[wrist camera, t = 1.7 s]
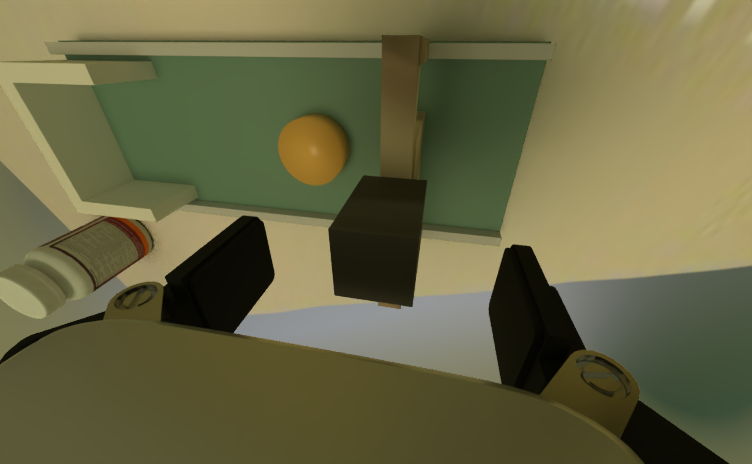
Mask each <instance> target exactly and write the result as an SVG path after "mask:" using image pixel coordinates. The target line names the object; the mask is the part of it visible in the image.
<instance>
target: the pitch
mask: <svg viewBox="0 0 752 464" xmlns="http://www.w3.org/2000/svg"><path fill="white" fill-rule="evenodd" d="M45 44H46V46H47V48H48V50H49V52H50V54H65V56H66V58H67V60H44V61H6V62H0V85H1V86H2V88H3V90H4V91H5V93H6V95H7V96H8V98H9V100H10V101H11V103H12V105H13V106H14V108H15V109H16V111H17V113H18V114H19V116H20V118H21V119H22V121H23V123H24V124H25V126H26V128H27V129H28V131H29V132H30V134H31V136H32V137H33V139H34V141H35V142H36V144H37V146H38V147H39V149H40V151H41V152H42V154H43V156H44V157H45V159H46V160H47V162H48V164H49V165H50V167H51V169H52V170H53V172H54V174H55V175H56V177H57V179H58V180H59V182H60V183H61V185H62V187H63V188H64V190H65V192H66V193H67V195H68V197H69V198H70V200H71V202H72V203H73V205H74V206H75V208H76V210H77V211H78V213H86V214H94V215H102V216H111V217H119V218H127V219H135V220H144V221H152V222H157V221H159V220H161V219H162V218H164V217H166V216H167V215H169V214H171V213H172V212H174V211H176V210H178V211H187V212H196V213H205V214H214V215H222V216H231V217H241V216H243V215H246V216H256V217H259V219H260V220H267V221H276V222H285V223H294V224H303V225H312V226H321V227H330V226H331V224H332V223H333V221H334V220H335V218H336V217H337V215H338V214H339V212H340V210H341V209H342V207H343V206H344V204H345V203H346V201H347V200H348V198H349V197H350V195H351V194H352V192H353V190H354V189H355V187H356V186H357V184H358V183H359V181H360V180H361V178H362V177H363V175H367V176H379V177H380V138H381V66H382V41H58V42H45ZM555 46H556V44H551V42H429V53H428V61H427V62H425V63H423V64H422V65H420V76H419V89H418V103H417V111H425V122H424V134H423V145H422V156H421V167H420V178H419V180H427V187H426V197H425V206H424V216H423V225H422V235H421V238H428V239H437V240H446V241H455V242H464V243H473V244H482V245H491V246H500V242H501V239H502V238H501V234H500V229H501V225H502V221H503V218H504V214H505V210H506V207H507V203H508V199H509V196H510V192H511V188H512V185H513V181H514V177H515V174H516V170H517V166H518V163H519V159H520V155H521V152H522V148H523V144H524V141H525V137H526V133H527V130H528V126H529V122H530V119H531V115H532V111H533V108H534V104H535V100H536V97H537V93H538V89H539V86H540V82H541V78H542V75H543V71H544V67H545V64H546V60H552V57H553V53H554V50H555ZM310 113H320V114H324V115H327V116H329V117H331V118H332V119H334V120H335V121H336V122H338V123H339V125H340V126H341V127H342V128H343V130H344V131H345V133H346V135H347V137H348V141H349V145H350V154H349V159H348V161H347V164H346V165H345V167H344V168H343V169H342V170H341V171H340V173H339V174H338V175H337V176H336V177H335V178H334V179H333V180H332V181H330V182H329V183H326V184H324V185H309V184H305V183H303V182H301V181H299V180H297V179H296V178H294V177H293V176H292V175H291V174H290V173H289V172H288V171H287V169H286V168H285V167H284V165H283V163H282V161H281V159H280V155H279V151H278V140H279V136H280V133H281V131H282V130H283V128H284V127H285V126H286V125H287V124H288V123H290V122H291V121H293V120H295V119H297V118H300V117H302V116H304V115H306V114H310Z"/></svg>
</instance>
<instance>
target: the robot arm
mask: <svg viewBox="0 0 752 464" xmlns="http://www.w3.org/2000/svg"><path fill="white" fill-rule="evenodd" d="M274 275H275V273H274V268H273V263H272V259H271V254H270V250H269V245H268V240H267V236H266V231H265V226H264V223H263V221H260V219H259V217H256V216H246V215H243V216H241V217H240V218H239V219H237V220H236V221H235V222H233V223H232V224H231V225H230V226H228V227H227V228H226V229H225V230H223V231H222V232H221V233H220V234H218V235H217V236H216V237H214V238H213V239H212V240H211V241H209V242H208V243H207V244H206V245H204V246H203V247H202V248H200V249H199V250H198V251H197V252H195V253H194V254H193V255H192V256H190V257H189V258H188V259H187V260H185V261H184V262H183V263H181V264H180V265H179V266H178V267H176V268H175V269H174V270H173V271H171V272H170V273H169V274H167V275H166V276H165V279H166V281H167V283H168V284H167V285H165V286H164V287H163V285H162V284H160V283H158V282H143V283H138V284H135V285H132V286H130V287H128V288H126V289H124V290H122V291H120V292H119V293H117V294H116V295H115V296H114V297H113V298H112V299H111V300H110V302H109V303H108V306H107V309H106V311H104V312H101V313H98V314H95V315H92V316H89V317H86V318H83V319H80V320H77V321H73V322H70V323H67V324H64V325H61V326H58V327H55V328H52V329H49V330H45V331H43V332H40V333H36V334H33V335H30V336H28V337H26V338H24V339H23V340H21V341H20V342H19V343H17V344H16V345H15V346H14V347H12V348H11V349H10V350H9V351H8V352H7V353H6V354H5V355H4V356H3V358H2V359H1V360H0V464H729V463H728V462H726V461H725V460H723V459H722V458H720V457H719V456H718V455H716V454H715V453H713V452H712V451H711V450H709V449H708V448H706V447H705V446H703V445H702V444H701V443H699V442H698V441H696V440H695V439H693V438H692V437H691V436H689V435H688V434H686V433H685V432H684V431H682V430H680V429H679V428H678V427H676V426H675V425H674V424H672V423H671V422H669V421H668V420H666V419H665V418H664V417H662V416H661V415H659V414H658V413H656V412H655V411H654V410H652V409H651V408H649V407H648V406H646V405H645V404H644V403H642V402H641V401H639V394H640V390H639V387H638V384H637V382H636V381H635V379H634V378H633V376H632V375H631V373H630V372H628V371H627V370H626V369H625V368H624V367H623V366H622V365H621V364H619V363H618V362H616V361H615V360H614V359H612V358H610V357H608V356H606V355H604V354H602V353H599V352H596V351H592V350H586V348H585V346H584V345H583V342H582V340H581V338H580V336H579V334H578V332H577V330H576V328H575V326H574V324H573V322H572V320H571V318H570V316H569V314H568V312H567V310H566V308H565V306H564V304H563V301H562V299H561V297H560V296H559V293H558V291H557V290H556V288H555V287H553V286H549V284H548V282H547V280H546V278H545V276H544V273H543V271H542V269H541V267H540V265H539V263H538V261H537V258H536V256H535V254H534V252H533V250H532V248H531V247H530V246H523V245H514V244H513V245H512V246H511V248H506V249H505V251H504V254H503V257H502V261H501V264H500V268H499V271H498V275H497V278H496V282H495V285H494V289H493V292H492V296H491V299H490V303H489V316H490V322H491V327H492V333H493V338H494V343H495V350H496V355H497V360H498V366H499V372H500V377H501V383H502V384H499V383H495V382H491V381H486V380H482V379H477V378H471V377H467V376H462V375H456V374H452V373H447V372H442V371H437V370H432V369H427V368H421V367H416V366H410V365H405V364H400V363H394V362H389V361H384V360H378V359H373V358H368V357H362V356H357V355H352V354H346V353H341V352H335V351H330V350H324V349H319V348H313V347H308V346H302V345H297V344H291V343H285V342H280V341H274V340H268V339H263V338H257V337H252V336H246V335H240V334H234V331H235V330H236V329H237V327H238V326H239V325H240V323H241V322H242V321H243V320H244V318H245V317H246V316H247V314H248V313H249V312H250V310H251V309H252V308H253V306H254V305H255V304H256V302H257V301H258V300H259V298H260V297H261V296H262V295H263V293H264V292H265V291H266V289H267V288H268V287H269V285H270V284H271V283H272V281H273V279H274Z"/></svg>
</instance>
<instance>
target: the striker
mask: <svg viewBox="0 0 752 464" xmlns="http://www.w3.org/2000/svg"><path fill="white" fill-rule="evenodd" d="M429 42H430V41H429V40H427V39H425V38H424V37H422V36H420V35H382V66H381V138H380V177H379V176H367V175H363V177H362V178H361V180H360V181H359V183H358V184H357V186H356V187H355V189H354V190H353V192H352V194H351V195H350V197H349V198H348V200H347V201H346V203H345V204H344V206H343V207H342V209H341V210H340V212H339V214H338V215H337V217H336V218H335V220H334V221H333V223H332V224H331V226H330V227H329V229H328V231H329V241H330V252H331V262H332V273H333V283H334V294H335V295H336V296H342V297H349V298H356V299H362V300H369V301H375V302H378V305H379V306H384V307H391V308H397V309H401V305H402V306H409V307H412V306H413V298H414V290H415V282H416V274H417V266H418V258H419V251H420V243H421V235H422V225H423V216H424V206H425V197H426V187H427V180H419V178H420V167H421V156H422V145H423V134H424V122H425V111H417V103H418V89H419V76H420V65H422V64H423V63H425V62H427V61H428V53H429Z"/></svg>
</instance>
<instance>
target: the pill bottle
mask: <svg viewBox="0 0 752 464" xmlns="http://www.w3.org/2000/svg"><path fill="white" fill-rule="evenodd" d="M151 249H152V241H151V238H150V235H149V233H148V232H147V230H146V229H145V228H144V227H143V226H142V225H141V224H140V223H139V222H138V221H136V220H135V219H127V218H119V217H111V216H102V217H100V218H97V219H95V220H93V221H91V222H90V223H87V224H85V225H83V226H81V227H79V228H77V229H75V230H73V231H71V232H69V233H67V234H65V235H63V236H60V237H58V238H56V239H54V240H52V241H50V242H48V243H46V244H44V245H42V246H39V247H37V248H35V249H34V250H32V251H30V252H29V253H28V254H27V255H26V256H25V258H24V261H23V265H22V264H16V265H14V266H12V267H10V268H8V269H6V270H4V271H2V272H0V299H1V300H3V301H4V302H6V304H8V305H9V306H10V307H12V308H13V309H15V310H17V311H18V312H20V313H22V314H25V315H27V316H29V317H33V318H39V319H40V318H44V317H46V316H48V315H50V314H51V313H53V312H54V311H56V310H57V309H58V308H60V307H62V306H63V305H64V304H65V303H66V300H77V299H81V298H84V297H86V296H87V295H89V294H91V293H92V292H94V291H95V290H96V289H98V288H99V287H101V286H102V285H104V284H105V283H107V282H108V281H110V280H111V279H112V278H114V277H115V276H117V275H118V274H119V273H121V272H122V271H124V270H125V269H127V268H128V267H130V266H131V265H133V264H134V263H136V262H137V261H139V260H140V259H141V258H143V257H144V256H146V255H147V254H148V253H149V252H150V251H151Z"/></svg>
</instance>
